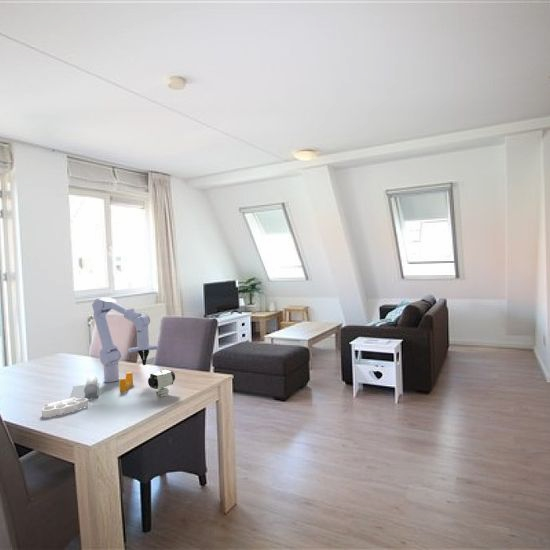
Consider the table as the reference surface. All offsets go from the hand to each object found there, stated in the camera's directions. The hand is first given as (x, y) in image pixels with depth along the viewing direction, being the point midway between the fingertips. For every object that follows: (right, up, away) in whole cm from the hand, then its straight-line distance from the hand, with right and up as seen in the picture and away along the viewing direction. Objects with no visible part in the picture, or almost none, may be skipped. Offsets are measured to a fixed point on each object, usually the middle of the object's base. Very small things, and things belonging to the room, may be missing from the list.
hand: (144, 364), depth 209 cm
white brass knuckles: (-23, -12, -35) cm, 43 cm away
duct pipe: (-24, -11, -13) cm, 30 cm away
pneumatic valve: (+16, -10, -21) cm, 28 cm away
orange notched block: (-7, -10, -7) cm, 15 cm away
